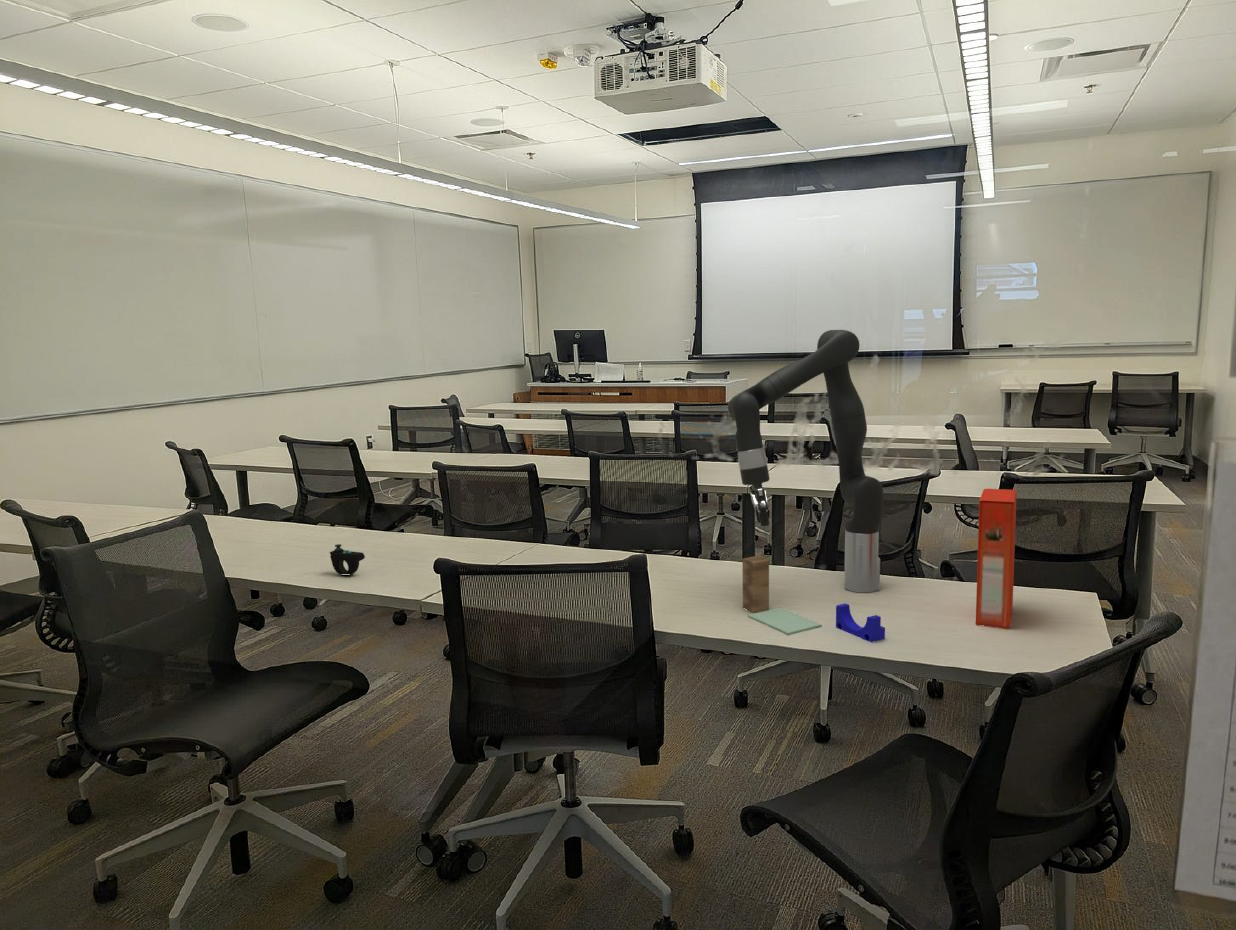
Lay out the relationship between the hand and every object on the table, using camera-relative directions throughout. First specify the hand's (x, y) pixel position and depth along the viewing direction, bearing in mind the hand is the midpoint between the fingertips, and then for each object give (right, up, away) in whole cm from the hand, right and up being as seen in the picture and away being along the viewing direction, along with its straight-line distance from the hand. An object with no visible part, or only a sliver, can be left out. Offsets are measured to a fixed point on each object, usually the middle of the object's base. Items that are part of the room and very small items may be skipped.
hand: (763, 523), depth 221 cm
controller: (-128, -20, +41) cm, 135 cm away
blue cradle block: (+20, -26, -22) cm, 39 cm away
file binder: (+57, -23, -13) cm, 63 cm away
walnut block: (-3, -23, -3) cm, 23 cm away
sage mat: (+3, -24, -13) cm, 28 cm away
